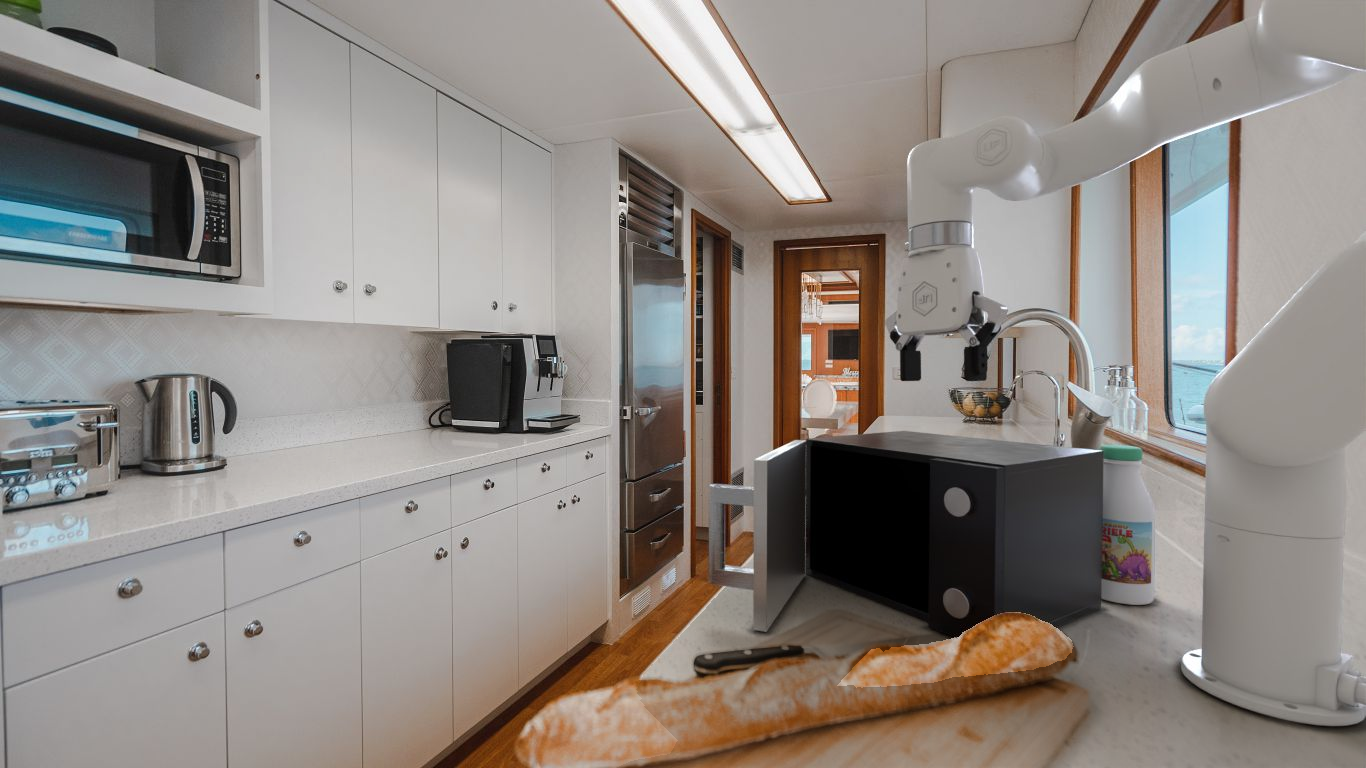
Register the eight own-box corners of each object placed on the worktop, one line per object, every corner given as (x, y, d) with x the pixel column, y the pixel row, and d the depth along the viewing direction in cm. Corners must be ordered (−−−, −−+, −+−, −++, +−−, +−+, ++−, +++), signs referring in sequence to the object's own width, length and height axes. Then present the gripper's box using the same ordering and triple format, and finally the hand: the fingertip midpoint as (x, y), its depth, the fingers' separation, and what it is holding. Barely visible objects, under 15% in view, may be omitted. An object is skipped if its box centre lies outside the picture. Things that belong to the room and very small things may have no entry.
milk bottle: (1091, 581, 89) (1094, 441, 88) (1159, 595, 83) (1162, 446, 83) (1077, 595, 83) (1079, 446, 83) (1148, 611, 78) (1151, 451, 77)
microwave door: (700, 621, 74) (700, 456, 74) (751, 568, 94) (752, 438, 94) (766, 632, 71) (767, 460, 71) (805, 574, 91) (806, 440, 91)
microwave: (989, 656, 66) (991, 467, 65) (793, 576, 91) (793, 439, 90) (1101, 608, 79) (1103, 450, 78) (902, 550, 104) (903, 430, 103)
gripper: (867, 253, 84) (868, 381, 84) (981, 225, 68) (983, 381, 69) (907, 258, 87) (908, 380, 87) (1024, 231, 72) (1026, 380, 72)
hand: (941, 380), depth 78 cm, fingers open, 9 cm apart
